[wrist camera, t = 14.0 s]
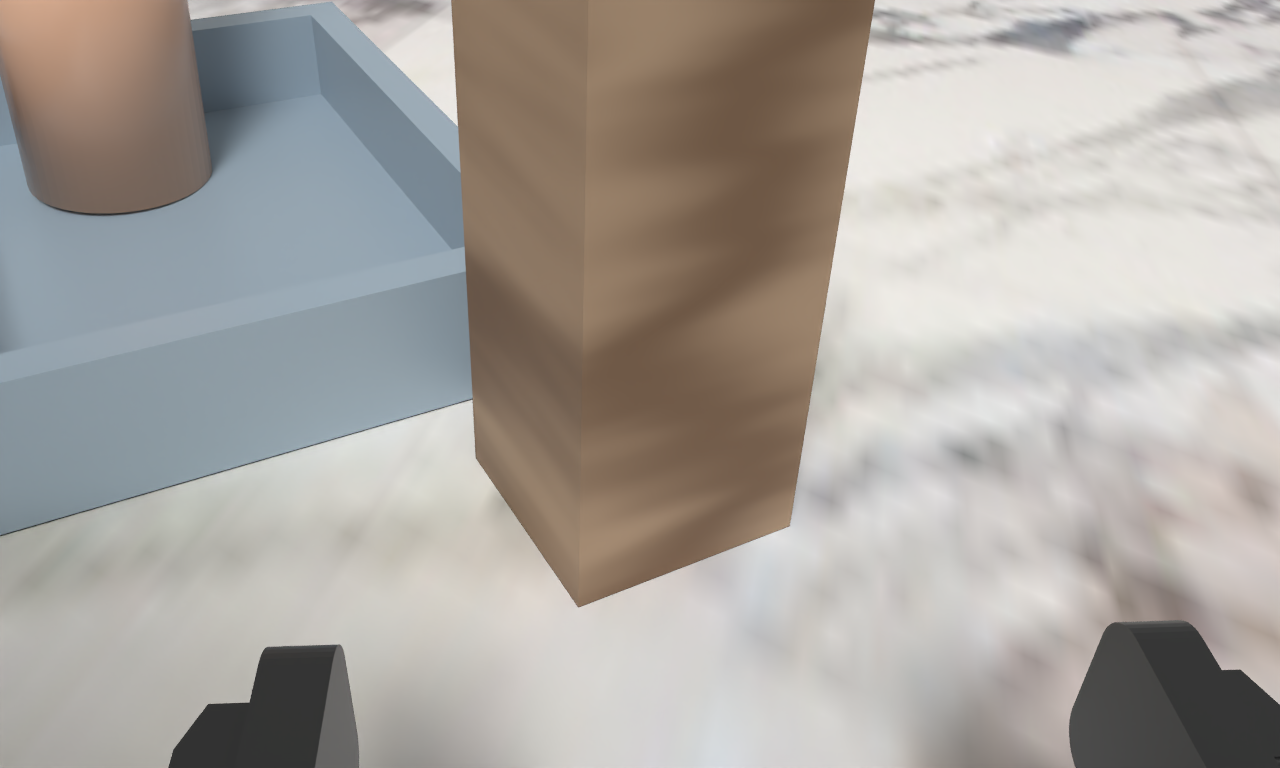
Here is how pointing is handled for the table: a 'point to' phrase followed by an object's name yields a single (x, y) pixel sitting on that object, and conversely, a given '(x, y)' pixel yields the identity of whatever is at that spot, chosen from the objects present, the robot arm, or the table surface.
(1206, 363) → the table surface
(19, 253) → the tote
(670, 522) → the walnut block
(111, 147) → the terracotta jar
